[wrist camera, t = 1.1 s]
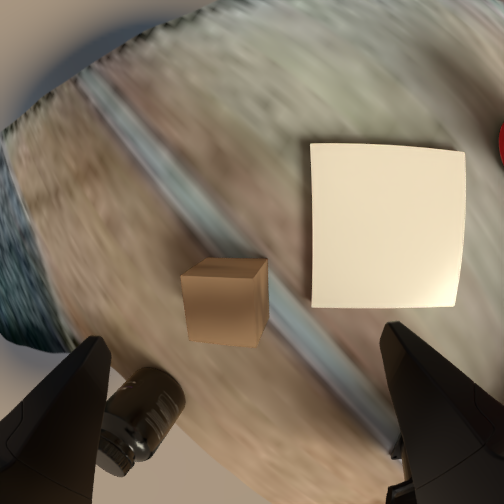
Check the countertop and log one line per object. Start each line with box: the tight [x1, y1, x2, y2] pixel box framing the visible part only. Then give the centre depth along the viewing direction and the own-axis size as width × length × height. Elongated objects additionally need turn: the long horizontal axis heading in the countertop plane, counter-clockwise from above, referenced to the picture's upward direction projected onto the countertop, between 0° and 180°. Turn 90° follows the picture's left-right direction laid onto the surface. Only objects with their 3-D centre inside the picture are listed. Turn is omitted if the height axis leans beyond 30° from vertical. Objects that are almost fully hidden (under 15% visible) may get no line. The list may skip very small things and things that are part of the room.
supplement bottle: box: [96, 368, 186, 477], centre depth 24 cm, size 7×7×12 cm
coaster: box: [310, 143, 466, 308], centre depth 20 cm, size 12×12×1 cm
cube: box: [180, 258, 269, 348], centre depth 22 cm, size 5×5×5 cm
